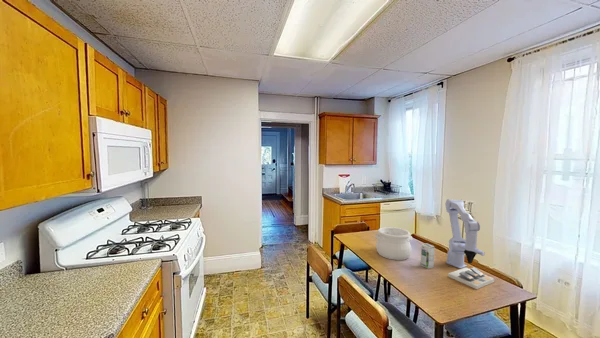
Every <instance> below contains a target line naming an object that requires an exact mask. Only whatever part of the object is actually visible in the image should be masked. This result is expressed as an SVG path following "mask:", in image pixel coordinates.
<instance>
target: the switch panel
mask: <svg viewBox="0 0 600 338" xmlns="http://www.w3.org/2000/svg"><path fill="white" fill-rule="evenodd" d="M470 269H471V268H469V267H463V268H459V269H457V270H454V271H452V272H448V274H447V277H448V278H450V279H453V280H455V281H458V282H460V283H461V284H463V285H466V286H468V287H471V288H473V289H474V290H478V289H480V288H483V287H485V286H487V285H491V284H493V283H495V277H491V276H488V275H487V274H484V275H483V276H481V277H480V276H478V277H476V278H475V277H473V276H472V277H473V278H474V279H472V280H468V279H467V278H465V277H463V276H462V275H460V274H459V273H460V272H463V271H464V272H465V271H468V270H469V271H472V270H470ZM472 272H473V271H472ZM468 275H469V274H468ZM470 276H471V275H470Z"/></svg>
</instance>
